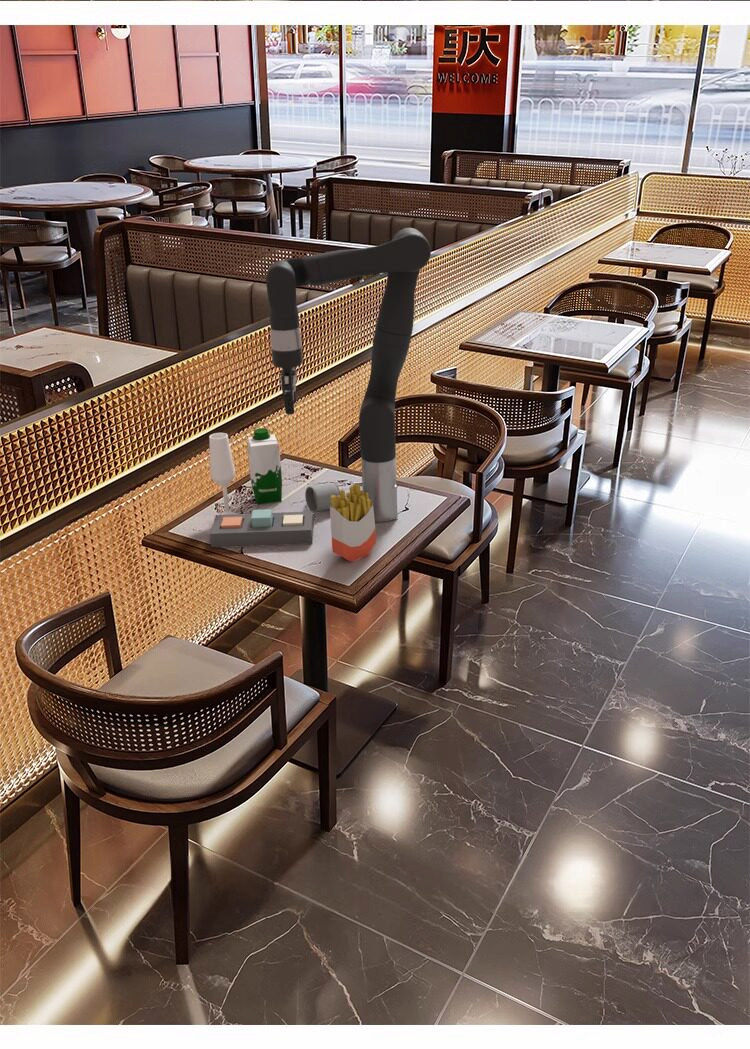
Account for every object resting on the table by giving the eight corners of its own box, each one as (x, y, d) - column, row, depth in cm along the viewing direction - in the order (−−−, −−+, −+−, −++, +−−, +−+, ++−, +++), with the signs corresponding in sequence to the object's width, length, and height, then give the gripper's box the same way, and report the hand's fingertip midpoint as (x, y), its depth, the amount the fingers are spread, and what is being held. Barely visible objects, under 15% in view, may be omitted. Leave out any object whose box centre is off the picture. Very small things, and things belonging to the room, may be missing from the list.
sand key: (303, 526, 228) (303, 514, 227) (302, 534, 224) (302, 522, 222) (285, 526, 228) (284, 515, 227) (283, 535, 224) (282, 523, 222)
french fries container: (377, 551, 217) (375, 486, 209) (344, 566, 210) (341, 499, 202) (364, 545, 220) (362, 480, 212) (332, 560, 213) (328, 494, 205)
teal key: (273, 520, 227) (272, 509, 226) (271, 529, 223) (270, 517, 221) (254, 521, 227) (253, 509, 226) (252, 530, 223) (251, 518, 221)
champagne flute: (216, 513, 240) (206, 432, 229) (240, 511, 240) (231, 430, 230) (214, 524, 234) (204, 441, 223) (239, 522, 234) (230, 439, 224)
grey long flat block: (314, 524, 232) (313, 511, 230) (312, 543, 222) (311, 529, 220) (217, 528, 231) (215, 514, 230) (211, 547, 221) (209, 533, 220)
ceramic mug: (343, 509, 240) (342, 484, 236) (318, 517, 236) (316, 491, 232) (325, 497, 248) (323, 473, 244) (300, 505, 244) (298, 479, 241)
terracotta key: (243, 528, 228) (242, 516, 227) (241, 536, 224) (240, 525, 222) (224, 528, 228) (223, 517, 227) (222, 537, 224) (220, 525, 222)
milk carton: (280, 490, 253) (275, 426, 244) (285, 502, 245) (279, 436, 236) (251, 494, 251) (244, 429, 242) (254, 506, 243) (247, 440, 234)
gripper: (300, 352, 206) (304, 417, 213) (302, 338, 219) (307, 399, 226) (268, 353, 206) (274, 418, 213) (273, 339, 219) (278, 400, 226)
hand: (291, 408), depth 220 cm, fingers open, 8 cm apart
